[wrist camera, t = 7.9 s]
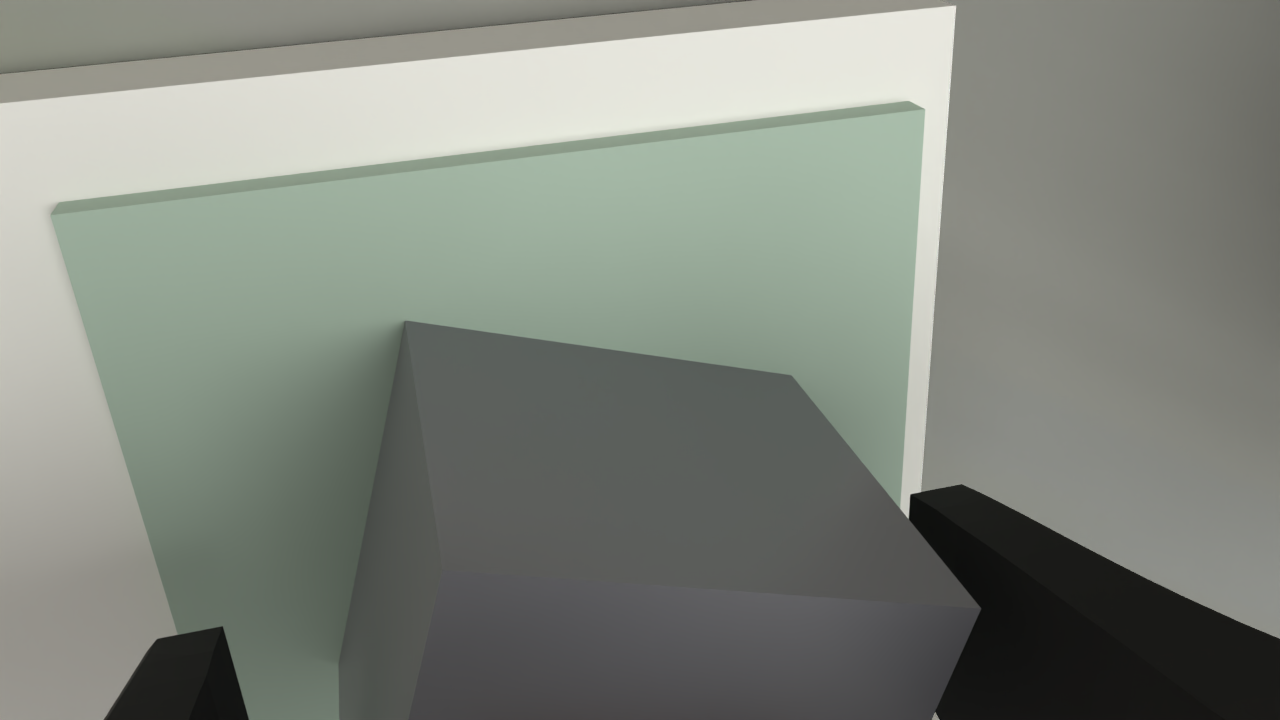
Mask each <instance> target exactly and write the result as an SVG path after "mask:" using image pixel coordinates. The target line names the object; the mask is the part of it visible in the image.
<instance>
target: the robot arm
mask: <svg viewBox="0 0 1280 720" xmlns="http://www.w3.org/2000/svg"><path fill="white" fill-rule="evenodd" d="M909 520H910V522H911V523H912V524H913V525H914V527H915V528H916V529H917V530H918V531H919V533H920V534H921V535H922V536H923V538H924V539H925V540H926V541H927V542H928V544H929V545H930V546H931V547H932V549H933V550H934V551H935V552H936V554H937V555H938V556H939V557H940V558H941V560H942V561H943V562H944V563H945V565H946V566H947V567H948V568H949V570H950V571H951V572H952V573H953V574H954V576H955V577H956V578H957V579H958V581H959V582H960V583H961V584H962V586H963V587H964V588H965V589H966V590H967V592H968V593H969V594H970V595H971V597H972V598H973V599H974V600H975V602H976V603H977V604H978V605H979V606H980V608H981V610H980V613H979V615H978V617H977V619H976V622H975V624H974V626H973V628H972V630H971V633H970V635H969V637H968V639H967V642H966V644H965V646H964V648H963V650H962V653H961V655H960V657H959V659H958V662H957V664H956V666H955V668H954V671H953V673H952V675H951V677H950V679H949V682H948V684H947V686H946V688H945V691H944V693H943V695H942V697H941V699H940V702H939V704H938V706H937V708H936V711H935V712H936V714H937V716H938V717H939V719H940V720H1280V639H1279V638H1276V637H1274V636H1271V635H1269V634H1267V633H1264V632H1262V631H1259V630H1257V629H1255V628H1252V627H1250V626H1247V625H1245V624H1243V623H1240V622H1238V621H1236V620H1234V619H1232V618H1229V617H1227V616H1225V615H1223V614H1221V613H1218V612H1216V611H1214V610H1212V609H1210V608H1207V607H1205V606H1203V605H1201V604H1199V603H1196V602H1194V601H1192V600H1190V599H1188V598H1185V597H1183V596H1181V595H1179V594H1177V593H1175V592H1173V591H1171V590H1169V589H1167V588H1165V587H1162V586H1160V585H1158V584H1156V583H1154V582H1152V581H1150V580H1148V579H1146V578H1144V577H1142V576H1140V575H1138V574H1136V573H1134V572H1132V571H1130V570H1128V569H1126V568H1124V567H1122V566H1120V565H1118V564H1116V563H1114V562H1112V561H1110V560H1108V559H1106V558H1105V557H1103V556H1101V555H1099V554H1097V553H1095V552H1093V551H1091V550H1089V549H1087V548H1085V547H1083V546H1082V545H1080V544H1078V543H1076V542H1074V541H1072V540H1070V539H1068V538H1066V537H1064V536H1063V535H1061V534H1059V533H1057V532H1055V531H1053V530H1051V529H1049V528H1047V527H1046V526H1044V525H1042V524H1040V523H1038V522H1036V521H1034V520H1032V519H1030V518H1029V517H1027V516H1025V515H1023V514H1021V513H1019V512H1017V511H1015V510H1013V509H1011V508H1009V507H1007V506H1006V505H1004V504H1002V503H1000V502H998V501H996V500H994V499H992V498H990V497H988V496H986V495H984V494H982V493H980V492H977V491H975V490H973V489H971V488H969V487H966V486H964V485H962V484H961V485H956V486H951V487H946V488H940V489H935V490H930V491H925V492H919V493H914V494H910V506H909ZM104 720H249V718H248V714H247V711H246V707H245V703H244V700H243V696H242V693H241V689H240V686H239V682H238V678H237V675H236V671H235V668H234V664H233V661H232V657H231V653H230V650H229V646H228V643H227V639H226V636H225V632H224V628H223V626H221V627H216V628H211V629H205V630H200V631H195V632H190V633H185V634H179V635H174V636H169V637H164V638H158V639H156V641H155V642H154V643H153V644H152V646H151V647H150V648H149V649H148V651H147V652H146V654H145V655H144V657H143V658H142V660H141V662H140V663H139V665H138V666H137V668H136V669H135V671H134V673H133V674H132V676H131V677H130V679H129V680H128V682H127V684H126V685H125V687H124V688H123V690H122V692H121V693H120V695H119V696H118V698H117V699H116V701H115V703H114V704H113V706H112V707H111V709H110V710H109V712H108V714H107V715H106V717H105V718H104Z"/></svg>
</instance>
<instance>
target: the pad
mask: <svg viewBox="0 0 1280 720" xmlns="http://www.w3.org/2000/svg"><path fill="white" fill-rule="evenodd" d="M924 121H925V109H924V108H922V107H920V106H918V105H916V104H914V103H912V102H910V101H904V102H896V103H887V104H879V105H870V106H862V107H854V108H845V109H837V110H828V111H820V112H812V113H803V114H795V115H787V116H778V117H770V118H761V119H753V120H745V121H736V122H728V123H719V124H711V125H703V126H694V127H686V128H678V129H669V130H661V131H652V132H644V133H636V134H627V135H619V136H611V137H602V138H594V139H585V140H577V141H569V142H560V143H552V144H543V145H535V146H527V147H518V148H510V149H502V150H493V151H485V152H476V153H468V154H460V155H451V156H443V157H434V158H426V159H418V160H409V161H401V162H393V163H384V164H376V165H367V166H359V167H351V168H342V169H334V170H326V171H317V172H309V173H300V174H292V175H284V176H275V177H267V178H258V179H250V180H242V181H233V182H225V183H217V184H208V185H200V186H191V187H183V188H175V189H166V190H158V191H150V192H141V193H133V194H124V195H116V196H108V197H99V198H91V199H82V200H74V201H66V202H59V203H58V204H57V206H56V207H55V209H54V210H53V212H52V213H51V215H50V216H51V220H52V223H53V226H54V229H55V233H56V236H57V239H58V243H59V246H60V249H61V252H62V256H63V259H64V262H65V266H66V269H67V272H68V275H69V279H70V282H71V285H72V289H73V292H74V295H75V298H76V302H77V305H78V308H79V312H80V315H81V318H82V321H83V325H84V328H85V331H86V335H87V338H88V341H89V344H90V348H91V351H92V354H93V358H94V361H95V364H96V367H97V371H98V374H99V377H100V381H101V384H102V387H103V390H104V394H105V397H106V400H107V404H108V407H109V410H110V413H111V417H112V420H113V423H114V427H115V430H116V433H117V436H118V440H119V443H120V446H121V450H122V453H123V456H124V459H125V463H126V466H127V469H128V473H129V476H130V479H131V482H132V486H133V489H134V492H135V496H136V499H137V502H138V505H139V509H140V512H141V515H142V519H143V522H144V525H145V528H146V532H147V535H148V538H149V542H150V545H151V548H152V551H153V555H154V558H155V561H156V565H157V568H158V571H159V574H160V578H161V581H162V584H163V588H164V591H165V594H166V597H167V601H168V604H169V607H170V611H171V614H172V617H173V620H174V624H175V627H176V630H177V634H178V635H179V634H185V633H190V632H195V631H200V630H205V629H211V628H216V627H221V626H223V628H224V632H225V636H226V639H227V643H228V646H229V650H230V653H231V657H232V661H233V664H234V668H235V671H236V675H237V678H238V682H239V686H240V689H241V693H242V696H243V700H244V703H245V707H246V711H247V714H248V718H249V720H339V659H340V654H341V648H342V643H343V638H344V633H345V628H346V623H347V618H348V612H349V607H350V602H351V597H352V592H353V587H354V581H355V576H356V571H357V566H358V561H359V556H360V551H361V545H362V540H363V535H364V530H365V525H366V520H367V514H368V509H369V504H370V499H371V494H372V489H373V484H374V478H375V473H376V468H377V463H378V458H379V453H380V447H381V442H382V437H383V432H384V427H385V422H386V417H387V411H388V406H389V401H390V396H391V391H392V386H393V380H394V375H395V370H396V365H397V360H398V355H399V349H400V344H401V339H402V334H403V329H404V324H405V320H406V321H413V322H420V323H427V324H434V325H441V326H448V327H455V328H463V329H470V330H477V331H484V332H491V333H498V334H505V335H512V336H519V337H526V338H533V339H540V340H547V341H554V342H561V343H568V344H575V345H582V346H589V347H596V348H603V349H610V350H617V351H624V352H631V353H639V354H646V355H653V356H660V357H667V358H674V359H681V360H688V361H695V362H702V363H709V364H716V365H723V366H730V367H737V368H744V369H751V370H758V371H765V372H772V373H779V374H786V375H792V376H793V378H794V379H795V380H796V381H797V383H798V384H799V385H800V386H801V387H802V389H803V390H804V391H805V392H806V394H807V395H808V396H809V397H810V399H811V400H812V401H813V402H814V403H815V405H816V406H817V407H818V408H819V410H820V411H821V412H822V413H823V415H824V416H825V417H826V418H827V419H828V421H829V422H830V423H831V424H832V426H833V427H834V428H835V429H836V431H837V432H838V433H839V434H840V435H841V437H842V438H843V439H844V440H845V442H846V443H847V444H848V445H849V447H850V448H851V449H852V450H853V451H854V453H855V454H856V455H857V456H858V458H859V459H860V460H861V461H862V463H863V464H864V465H865V466H866V467H867V469H868V470H869V471H870V472H871V474H872V475H873V476H874V477H875V479H876V480H877V481H878V482H879V483H880V485H881V486H882V487H883V488H884V490H885V491H886V492H887V493H888V495H889V496H890V497H891V498H892V499H893V501H894V502H895V503H896V504H897V506H898V507H899V508H900V503H901V488H902V472H903V456H904V440H905V424H906V408H907V392H908V376H909V360H910V344H911V328H912V312H913V297H914V281H915V265H916V249H917V233H918V217H919V201H920V185H921V169H922V153H923V137H924Z"/></svg>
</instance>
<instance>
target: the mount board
mask: <svg viewBox="0 0 1280 720" xmlns="http://www.w3.org/2000/svg"><path fill="white" fill-rule="evenodd" d="M955 13H956V5H953V4H950V3H947V2H944V1H941V0H752V1H742V2H731V3H721V4H711V5H701V6H691V7H680V8H670V9H660V10H650V11H640V12H629V13H619V14H609V15H599V16H589V17H578V18H568V19H558V20H548V21H538V22H527V23H517V24H507V25H497V26H486V27H476V28H466V29H456V30H446V31H435V32H425V33H415V34H405V35H395V36H384V37H374V38H364V39H354V40H344V41H333V42H323V43H313V44H303V45H293V46H282V47H272V48H262V49H252V50H241V51H231V52H221V53H211V54H201V55H190V56H180V57H170V58H160V59H150V60H139V61H129V62H119V63H109V64H99V65H88V66H78V67H68V68H58V69H48V70H37V71H27V72H17V73H7V74H0V720H104V718H105V717H106V715H107V714H108V712H109V710H110V709H111V707H112V706H113V704H114V703H115V701H116V699H117V698H118V696H119V695H120V693H121V692H122V690H123V688H124V687H125V685H126V684H127V682H128V680H129V679H130V677H131V676H132V674H133V673H134V671H135V669H136V668H137V666H138V665H139V663H140V662H141V660H142V658H143V657H144V655H145V654H146V652H147V651H148V649H149V648H150V647H151V646H152V644H153V643H154V642H155V641H156V639H158V638H164V637H169V636H174V635H178V634H177V630H176V627H175V624H174V620H173V617H172V614H171V611H170V607H169V604H168V601H167V597H166V594H165V591H164V588H163V584H162V581H161V578H160V574H159V571H158V568H157V565H156V561H155V558H154V555H153V551H152V548H151V545H150V542H149V538H148V535H147V532H146V528H145V525H144V522H143V519H142V515H141V512H140V509H139V505H138V502H137V499H136V496H135V492H134V489H133V486H132V482H131V479H130V476H129V473H128V469H127V466H126V463H125V459H124V456H123V453H122V450H121V446H120V443H119V440H118V436H117V433H116V430H115V427H114V423H113V420H112V417H111V413H110V410H109V407H108V404H107V400H106V397H105V394H104V390H103V387H102V384H101V381H100V377H99V374H98V371H97V367H96V364H95V361H94V358H93V354H92V351H91V348H90V344H89V341H88V338H87V335H86V331H85V328H84V325H83V321H82V318H81V315H80V312H79V308H78V305H77V302H76V298H75V295H74V292H73V289H72V285H71V282H70V279H69V275H68V272H67V269H66V266H65V262H64V259H63V256H62V252H61V249H60V246H59V243H58V239H57V236H56V233H55V229H54V226H53V223H52V220H51V216H50V215H51V213H52V212H53V210H54V209H55V207H56V206H57V204H58V203H59V202H66V201H74V200H82V199H91V198H99V197H108V196H116V195H124V194H133V193H141V192H150V191H158V190H166V189H175V188H183V187H191V186H200V185H208V184H217V183H225V182H233V181H242V180H250V179H258V178H267V177H275V176H284V175H292V174H300V173H309V172H317V171H326V170H334V169H342V168H351V167H359V166H367V165H376V164H384V163H393V162H401V161H409V160H418V159H426V158H434V157H443V156H451V155H460V154H468V153H476V152H485V151H493V150H502V149H510V148H518V147H527V146H535V145H543V144H552V143H560V142H569V141H577V140H585V139H594V138H602V137H611V136H619V135H627V134H636V133H644V132H652V131H661V130H669V129H678V128H686V127H694V126H703V125H711V124H719V123H728V122H736V121H745V120H753V119H761V118H770V117H778V116H787V115H795V114H803V113H812V112H820V111H828V110H837V109H845V108H854V107H862V106H870V105H879V104H887V103H896V102H904V101H910V102H912V103H914V104H916V105H918V106H920V107H922V108H924V109H925V121H924V137H923V153H922V169H921V185H920V201H919V217H918V233H917V249H916V265H915V281H914V297H913V312H912V328H911V344H910V360H909V376H908V392H907V408H906V424H905V440H904V456H903V472H902V488H901V503H900V509H901V511H902V512H903V513H904V514H905V515H906V517H907V518H908V519H909V506H910V494H914V493H919V492H921V484H922V470H923V456H924V442H925V428H926V414H927V400H928V387H929V373H930V359H931V345H932V331H933V317H934V304H935V290H936V276H937V262H938V248H939V234H940V220H941V207H942V193H943V179H944V165H945V151H946V137H947V124H948V110H949V96H950V82H951V68H952V54H953V40H954V27H955Z"/></svg>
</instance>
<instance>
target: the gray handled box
mask: <svg viewBox="0 0 1280 720" xmlns="http://www.w3.org/2000/svg"><path fill="white" fill-rule="evenodd" d="M980 610H981V608H980V606H979V605H978V604H977V603H976V602H975V600H974V599H973V598H972V597H971V595H970V594H969V593H968V592H967V590H966V589H965V588H964V587H963V586H962V584H961V583H960V582H959V581H958V579H957V578H956V577H955V576H954V574H953V573H952V572H951V571H950V570H949V568H948V567H947V566H946V565H945V563H944V562H943V561H942V560H941V558H940V557H939V556H938V555H937V554H936V552H935V551H934V550H933V549H932V547H931V546H930V545H929V544H928V542H927V541H926V540H925V539H924V538H923V536H922V535H921V534H920V533H919V531H918V530H917V529H916V528H915V527H914V525H913V524H912V523H911V522H910V520H909V519H908V518H907V517H906V515H905V514H904V513H903V512H902V511H901V509H900V508H899V507H898V506H897V504H896V503H895V502H894V501H893V499H892V498H891V497H890V496H889V495H888V493H887V492H886V491H885V490H884V488H883V487H882V486H881V485H880V483H879V482H878V481H877V480H876V479H875V477H874V476H873V475H872V474H871V472H870V471H869V470H868V469H867V467H866V466H865V465H864V464H863V463H862V461H861V460H860V459H859V458H858V456H857V455H856V454H855V453H854V451H853V450H852V449H851V448H850V447H849V445H848V444H847V443H846V442H845V440H844V439H843V438H842V437H841V435H840V434H839V433H838V432H837V431H836V429H835V428H834V427H833V426H832V424H831V423H830V422H829V421H828V419H827V418H826V417H825V416H824V415H823V413H822V412H821V411H820V410H819V408H818V407H817V406H816V405H815V403H814V402H813V401H812V400H811V399H810V397H809V396H808V395H807V394H806V392H805V391H804V390H803V389H802V387H801V386H800V385H799V384H798V383H797V381H796V380H795V379H794V378H793V376H792V375H786V374H779V373H772V372H765V371H758V370H751V369H744V368H737V367H730V366H723V365H716V364H709V363H702V362H695V361H688V360H681V359H674V358H667V357H660V356H653V355H646V354H639V353H631V352H624V351H617V350H610V349H603V348H596V347H589V346H582V345H575V344H568V343H561V342H554V341H547V340H540V339H533V338H526V337H519V336H512V335H505V334H498V333H491V332H484V331H477V330H470V329H463V328H455V327H448V326H441V325H434V324H427V323H420V322H413V321H406V320H405V324H404V329H403V334H402V339H401V344H400V349H399V355H398V360H397V365H396V370H395V375H394V380H393V386H392V391H391V396H390V401H389V406H388V411H387V417H386V422H385V427H384V432H383V437H382V442H381V447H380V453H379V458H378V463H377V468H376V473H375V478H374V484H373V489H372V494H371V499H370V504H369V509H368V514H367V520H366V525H365V530H364V535H363V540H362V545H361V551H360V556H359V561H358V566H357V571H356V576H355V581H354V587H353V592H352V597H351V602H350V607H349V612H348V618H347V623H346V628H345V633H344V638H343V643H342V648H341V654H340V659H339V720H932V717H933V715H934V713H935V711H936V708H937V706H938V704H939V702H940V699H941V697H942V695H943V693H944V691H945V688H946V686H947V684H948V682H949V679H950V677H951V675H952V673H953V671H954V668H955V666H956V664H957V662H958V659H959V657H960V655H961V653H962V650H963V648H964V646H965V644H966V642H967V639H968V637H969V635H970V633H971V630H972V628H973V626H974V624H975V622H976V619H977V617H978V615H979V613H980Z"/></svg>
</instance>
